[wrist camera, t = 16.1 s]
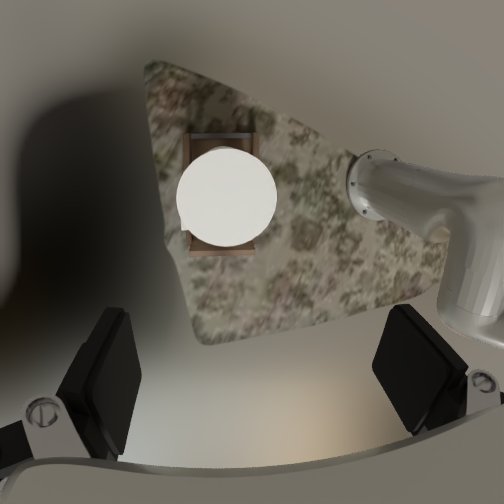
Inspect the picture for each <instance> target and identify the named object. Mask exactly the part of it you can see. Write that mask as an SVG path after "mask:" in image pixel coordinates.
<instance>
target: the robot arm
mask: <svg viewBox="0 0 504 504" xmlns="http://www.w3.org/2000/svg"><path fill="white" fill-rule="evenodd" d="M367 155H368V158H367ZM351 182H352V184H351ZM347 193H348V198H349V200H350V203H351V205H352V206H353V208H354V209H355V210H356V211H357V212H358V213H359V214H360V215H362V216H363V217H365V218H367V219H370V220H378V221H380V220H385V219H388V220H390V221H392V222H393V223H395V224H397V225H399V226H401V227H403V228H404V229H406V230H408V231H410V232H411V233H413V234H415V235H417V236H419V237H420V238H422V239H424V240H427V241H429V242H445V241H449V246H448V253H447V258H446V263H445V267H444V272H443V276H442V280H441V285H440V289H439V293H438V298H437V313H438V315H439V318H440V319H441V321H442V322H443V323H444V324H445V325H446V326H447V327H448V328H449V329H451V330H453V331H454V332H456V333H458V334H460V335H462V336H465V337H467V338H470V339H473V340H476V341H479V342H482V343H485V344H488V345H491V346H494V347H497V348H500V349H503V350H504V178H500V177H494V176H477V175H464V174H458V173H452V172H447V171H442V170H438V169H433V168H429V167H424V166H419V165H414V164H409V163H404V162H402V161H401V160H400V159H399V158H398V157H397V156H396V155H394V154H392V153H391V152H389V151H385V150H378V149H377V150H371V151H368V152H365V153H364V154H362V155H361V156H359V157H358V158H357V159H356V161H355V162H354V163H353V165H352V167H351V169H350V171H349V174H348V177H347ZM363 210H364V211H363ZM372 369H373V372H374V374H375V375H376V377H377V379H378V381H379V382H380V384H381V386H382V387H383V389H384V391H385V393H386V394H387V396H388V398H389V399H390V401H391V403H392V405H393V406H394V408H395V410H396V412H397V413H398V415H399V417H400V419H401V421H402V422H403V424H404V426H405V428H406V429H407V431H408V432H411V433H412V435H413V437H410V438H407V439H404V440H401V441H398V442H394V443H391V444H387V445H384V446H380V447H377V448H373V449H369V450H365V451H361V452H357V453H352V454H348V455H344V456H338V457H333V458H328V459H322V460H316V461H310V462H304V463H296V464H287V465H278V466H267V467H252V468H224V469H210V468H209V469H207V468H204V469H203V468H181V467H165V466H153V465H143V464H135V463H128V462H119V461H117V459H118V455H123V453H124V449H125V445H126V440H127V435H128V431H129V427H130V422H131V418H132V414H133V410H134V405H135V402H136V398H137V394H138V390H139V386H140V382H141V375H142V374H141V368H140V364H139V359H138V355H137V350H136V346H135V341H134V336H133V331H132V326H131V320H130V315H129V313H128V312H124V309H123V308H116V307H107V308H106V309H105V310H104V312H103V314H102V315H101V317H100V319H99V321H98V322H97V324H96V326H95V327H94V329H93V331H92V332H91V334H90V336H89V338H88V340H87V341H86V342H85V343H83V344H82V345H81V347H80V349H79V351H78V352H77V355H76V356H75V358H74V360H73V362H72V364H71V365H70V367H69V369H68V371H67V373H66V375H65V377H64V379H63V381H62V383H61V385H60V387H59V389H58V391H57V393H56V395H52V394H39V395H35V396H33V397H31V398H30V399H29V400H28V401H27V402H26V403H25V404H24V406H23V408H22V412H21V417H22V420H20V421H17V422H15V423H12V424H10V425H7V426H5V427H3V428H0V504H504V393H503V392H500V388H499V384H498V381H497V380H496V378H495V377H494V376H493V375H492V374H490V373H489V372H487V371H484V370H479V369H477V370H473V371H471V372H470V373H469V374H468V376H466V374H465V372H466V371H467V369H468V365H467V364H466V363H465V362H464V361H463V360H462V358H461V357H460V356H459V355H458V354H457V353H456V352H455V351H454V350H453V349H452V347H451V346H450V345H449V344H448V343H447V342H446V341H445V340H444V339H443V338H442V337H441V336H440V335H439V334H438V332H437V331H436V330H435V329H434V328H433V327H432V326H431V325H430V324H429V323H428V322H427V321H426V320H425V319H424V318H423V317H422V316H421V315H420V314H419V313H418V312H417V311H416V310H415V309H414V308H413V307H412V306H411V305H410V304H399V305H395V306H394V307H393V309H391V310H390V312H389V315H388V318H387V322H386V324H385V328H384V331H383V334H382V337H381V340H380V343H379V346H378V349H377V352H376V354H375V357H374V360H373V363H372Z"/></svg>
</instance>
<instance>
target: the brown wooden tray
mask: <svg viewBox="0 0 504 504" xmlns="http://www.w3.org/2000/svg"><path fill="white" fill-rule="evenodd" d="M183 146H184V171H185V170H186V169H187V168H188V166H189V165H190V164H191V163H192V162H193V161H194V160H196V159H197V158H198V157H200V156H201V155H203V154H205V153H206V152H208V151H209V150H211V149H213V148H215V147H219V146H227V147H231V148H235V149H238V150H241V151H244V152H247V153H249V154H251V155H252V156H254V157H256V158H257V159H258V160H259V133H201V134H190V133H183ZM186 239H187V246H190V250H189V257H200V256H242V255H255V247H254V244H257V236H256V237H255V238H253V239H252V240H250V241H248V242H246V243H243V244H240V245H236V246H227V247H224V246H216V245H212V244H209V243H206V242H204V241H202V240H200V239H198V238H197V237H196V236H195V235H193V234H192V233H191V232H190V231H189V230H186Z"/></svg>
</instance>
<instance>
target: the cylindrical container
mask: <svg viewBox="0 0 504 504" xmlns="http://www.w3.org/2000/svg"><path fill="white" fill-rule="evenodd" d="M176 199H177V208H178V211H179V215H180V217H181V219H182V221H183V223H184V225H185V226H186V227H187V228H188V230H189V231H190V232H191V233H192V234H193V235H195V236H196V237H197V238H198V239H200V240H202V241H204V242H206V243H209V244H212V245H216V246H224V247H227V246H236V245H240V244H243V243H246V242H248V241H250V240H252V239H253V238H255V237H256V236H258V235H259V234H260V233H261V232H262V231H263V230H264V229H265V228H266V227H267V225H268V224H269V222H270V220H271V219H272V216H273V214H274V211H275V207H276V202H277V192H276V187H275V182H274V180H273V178H272V176H271V173H270V172H269V171H268V169H267V168H266V166H265V165H264V164H263V163H262V162H261V161H260V160H258V159H257V158H256V157H254V156H252V155H251V154H249V153H247V152H244V151H241V150H238V149H235V148H231V147H227V146H219V147H215V148H213V149H211V150H209V151H208V152H206V153H205V154H203V155H201V156H200V157H198V158H197V159H196V160H194V161H193V162H192V163H191V164H190V165H189V166H188V168H187V169H186V170H185V171H184V173H183V175H182V177H181V179H180V182H179V185H178V188H177V197H176Z"/></svg>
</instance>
